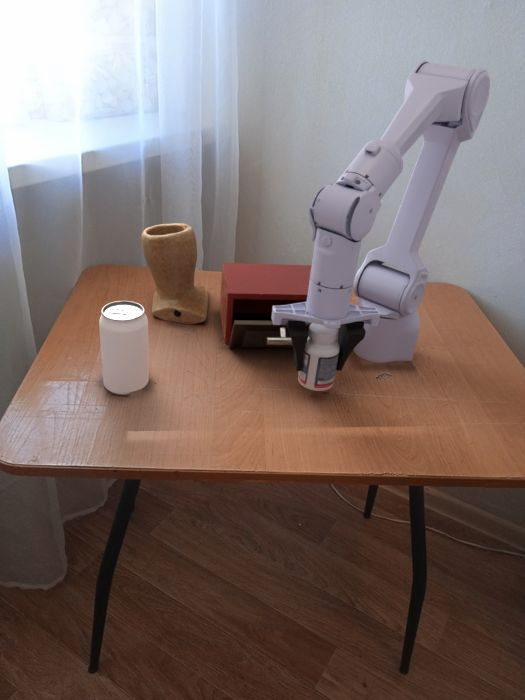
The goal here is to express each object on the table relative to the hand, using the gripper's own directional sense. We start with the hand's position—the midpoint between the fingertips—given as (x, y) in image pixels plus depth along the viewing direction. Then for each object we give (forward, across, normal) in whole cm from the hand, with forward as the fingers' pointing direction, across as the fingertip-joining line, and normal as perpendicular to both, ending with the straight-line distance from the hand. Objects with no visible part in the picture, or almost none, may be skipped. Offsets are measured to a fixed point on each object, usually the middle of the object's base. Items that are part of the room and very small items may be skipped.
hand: (317, 367), depth 80 cm
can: (+5, -27, +4) cm, 28 cm away
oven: (+5, -4, +20) cm, 21 cm away
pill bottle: (+3, 0, 0) cm, 3 cm away
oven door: (+5, -4, +12) cm, 13 cm away
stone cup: (+5, -20, +28) cm, 34 cm away
